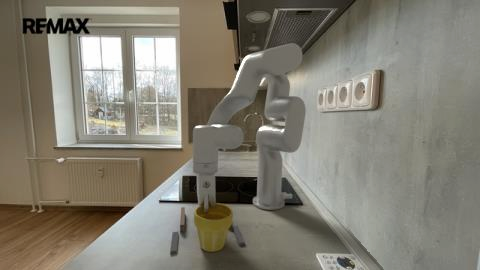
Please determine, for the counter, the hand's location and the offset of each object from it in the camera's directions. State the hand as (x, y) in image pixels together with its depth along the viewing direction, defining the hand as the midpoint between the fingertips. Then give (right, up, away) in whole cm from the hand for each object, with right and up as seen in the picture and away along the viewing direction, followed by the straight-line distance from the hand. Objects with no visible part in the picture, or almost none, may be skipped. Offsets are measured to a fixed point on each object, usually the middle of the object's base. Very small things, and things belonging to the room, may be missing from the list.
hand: (204, 224), depth 67 cm
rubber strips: (+2, -2, -5) cm, 6 cm away
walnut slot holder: (-1, -1, +5) cm, 6 cm away
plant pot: (+3, -3, -7) cm, 8 cm away
